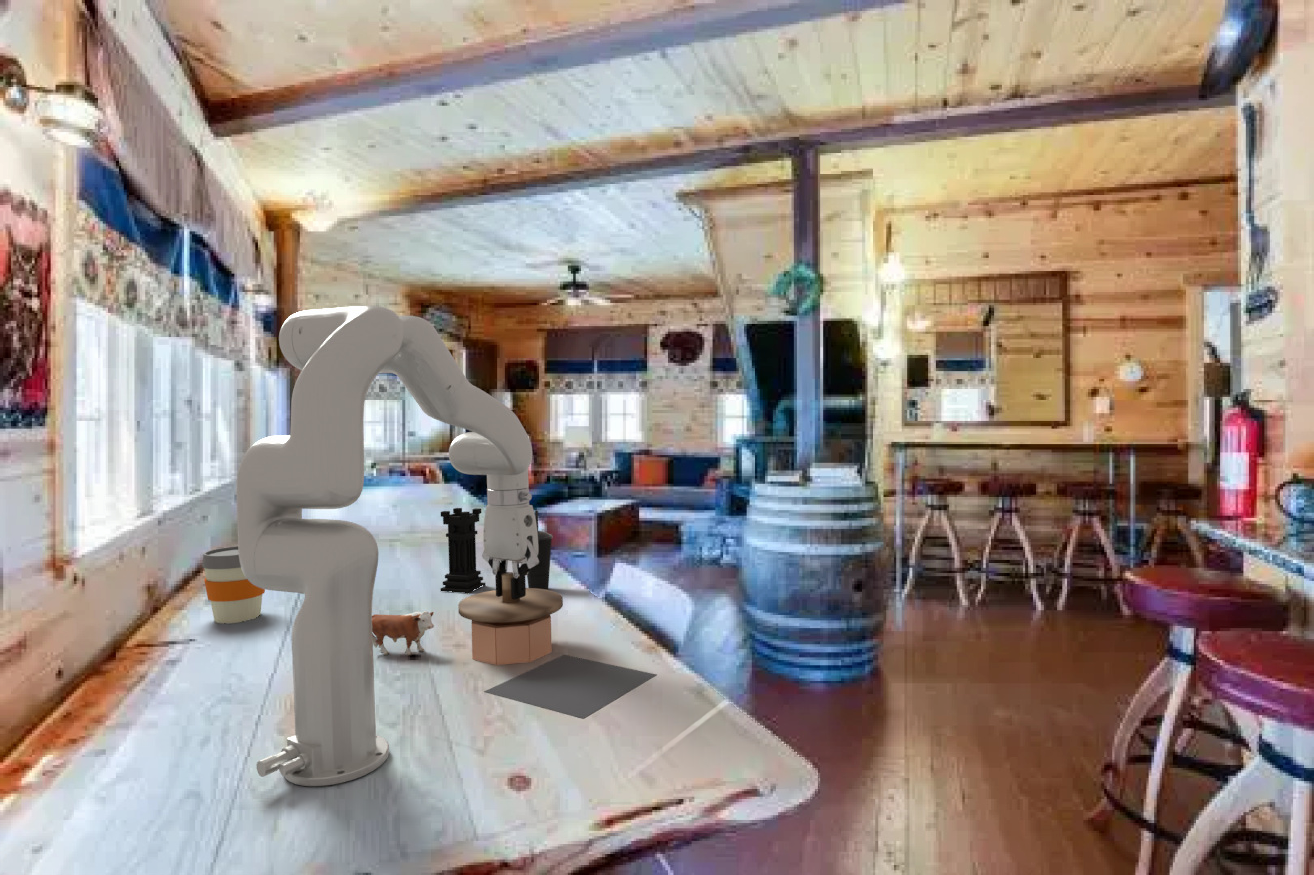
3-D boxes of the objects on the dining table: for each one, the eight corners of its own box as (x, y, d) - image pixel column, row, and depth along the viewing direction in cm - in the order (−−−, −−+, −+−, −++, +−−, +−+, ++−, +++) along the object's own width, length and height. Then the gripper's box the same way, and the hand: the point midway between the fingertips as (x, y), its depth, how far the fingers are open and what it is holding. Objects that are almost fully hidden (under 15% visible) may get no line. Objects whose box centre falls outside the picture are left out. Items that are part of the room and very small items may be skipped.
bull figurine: (430, 658, 135) (429, 614, 134) (364, 654, 137) (363, 611, 137) (442, 650, 139) (441, 608, 139) (378, 647, 142) (376, 605, 141)
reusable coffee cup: (266, 621, 160) (263, 553, 159) (199, 628, 155) (196, 558, 155) (272, 607, 172) (270, 543, 171) (210, 613, 167) (207, 548, 166)
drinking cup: (519, 588, 185) (517, 509, 185) (548, 585, 189) (547, 507, 188) (527, 595, 178) (525, 513, 178) (557, 591, 182) (555, 511, 181)
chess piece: (440, 591, 184) (438, 512, 183) (458, 584, 191) (456, 507, 190) (468, 593, 181) (466, 512, 181) (485, 585, 189) (483, 508, 188)
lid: (513, 628, 124) (512, 592, 123) (436, 612, 134) (435, 579, 134) (583, 601, 140) (582, 569, 139) (509, 589, 150) (508, 559, 150)
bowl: (513, 671, 127) (512, 631, 127) (456, 657, 135) (455, 620, 135) (566, 648, 139) (565, 611, 139) (510, 636, 147) (509, 601, 147)
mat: (583, 721, 107) (583, 718, 107) (484, 694, 117) (483, 691, 117) (656, 677, 124) (656, 674, 124) (564, 657, 134) (564, 654, 134)
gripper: (555, 498, 135) (558, 597, 135) (490, 493, 143) (493, 586, 144) (527, 503, 128) (530, 607, 129) (461, 497, 137) (464, 595, 138)
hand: (510, 595), depth 137 cm, fingers closed on lid, 3 cm apart
